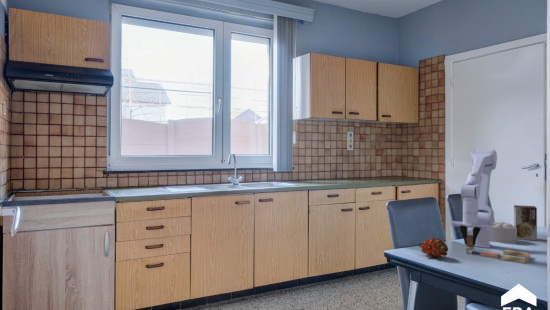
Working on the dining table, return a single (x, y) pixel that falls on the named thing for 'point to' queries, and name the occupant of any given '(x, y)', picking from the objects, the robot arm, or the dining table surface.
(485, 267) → the dining table surface
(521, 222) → the coffee box
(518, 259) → the tile holder
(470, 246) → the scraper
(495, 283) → the dining table surface
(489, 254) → the tile
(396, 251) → the dining table surface
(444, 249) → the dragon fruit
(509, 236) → the lumpy-topped squat cylinder
